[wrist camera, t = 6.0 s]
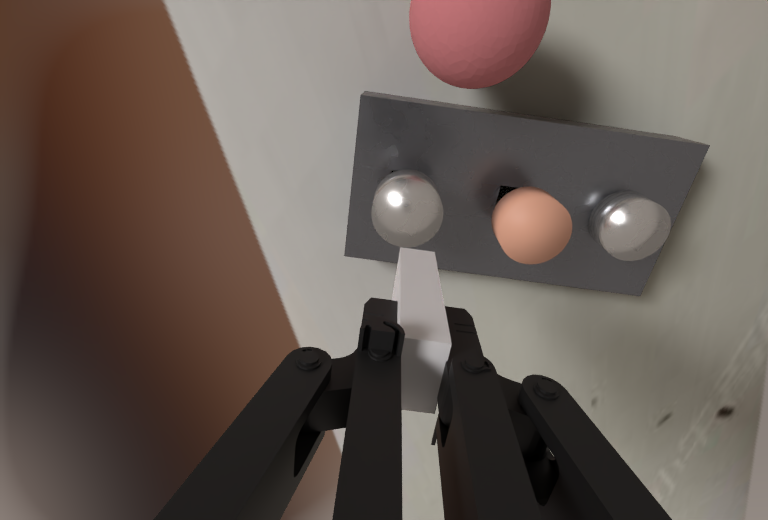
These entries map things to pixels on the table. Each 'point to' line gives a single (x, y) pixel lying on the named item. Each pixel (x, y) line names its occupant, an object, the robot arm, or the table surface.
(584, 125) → the mount plate
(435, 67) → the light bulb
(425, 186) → the knob
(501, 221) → the knob
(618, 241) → the knob
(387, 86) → the table surface
